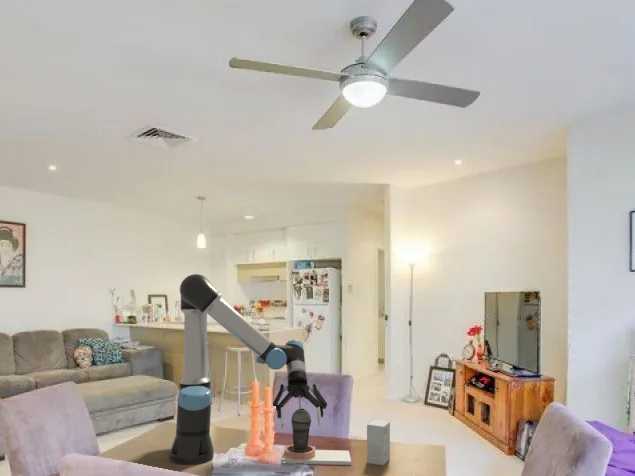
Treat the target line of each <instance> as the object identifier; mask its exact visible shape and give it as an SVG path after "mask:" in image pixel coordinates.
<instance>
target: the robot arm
mask: <svg viewBox="0 0 635 476" xmlns="http://www.w3.org/2000/svg"><path fill="white" fill-rule="evenodd" d="M179 294H180V311H181V312H182V313H183V315H184V317H183V318H184V325H183V326H184V328H183V331H184V333H183V334H184V335H183V337H184V338H183V377H182V378H181V379H180V381H179V384H178V385H179V392H178V396H177V410H176V411H177V412H176V426H175V437H174V440H173V441H172V442H173V443H172V445H171V448H170V450H169V457H168V458H169V461H170V462H172V463H174V464H178V465H198V464H202V463H206V462H209V461H211V460H212V459H213V458H214V446H213V441H212V438H211V435H210V433H211V432H210V431H211V413H212V412H211V411H212V400H213V397H212V395H213V394H212V391H211V379H210V378H209V377H208V376H207V374H208V373H207V369H208V368H207V366H208V365H207V362H208V361H207V359H208V358H207V357H208V356H207V355H208V351H207V350H208V348H207V347H208V316H210V318H212V319H213V320H215V321H216V323H218V324H219V325H220V326H221V327H222V328H224V329H225V330H226V331H227V332H228V333H229V334H231V335H232V336H233V337H234V338H235V339H236V340H238V341H239V342H240V343H241V344H242V345H244V347H246V348H247V349H249V351H250V352H251V353H253V354H254V355H255V362H256V363H257V364H262V365H264V364H265V365H266V366H268V368H270V369H271V370H275V371H276V370H280V369H283V367H284V366H285V365H286V376H287V377H286V378H287V385H284V384H282V383H280V387H279V391H278V393H277V395H276V396H275V398H274V400H273V402H272V404H273V406H276V409H275V410H276V414H277V419H280V428H281V429H283V428H284V427H285V426H284V425H285V418H284V407H285V406H286V404H287V403H288V401H290V400H291V399H292V398H295V399H297V398H298V399H299V396H300V399H302V398H304V399H305V400H307V401H308V402H310V403H311V404H312V405H313V406H314V407H315V408H316V415H317V423H318V424H317V425H318V428H321V427H322V424H323V422H322V418H324V410H325V409H327V407H328V402H327V401H326V399H325V398H324V396H323V395H322V394H321V392H320V391H319V389H318V387H317V384H315V383H313V384H312V385H309V384H308V375H307V367H306V360H305V357H306V356H305V349H304V345H303V343H302V341H300V340H299V339H298V340H297V339H292V340H288V341H286V343H285V345H283V344H282V345H280V344H276V343H274V342H273V341H271V340H270V339H269V338H268V337H267V336H266V335H265V334H264V333H263V332H261V331H260V330H259V329H258V328H257V327H255V326H254V325H253V324H252V323H251V322H250V321H248V319H247V318H245V317H244V316H243V315H242V314H240V313H239V312H238V311H237V310H236V309H235V308H234V307H232V306H231V305H230V304H229V303H228V302H227V301H226V300H225V299H224V298H222V293H221V292H220V291H218V290H217V289H216V288H215V287H214V285H213V284H212V283H211V282H210V280H209V279H208V278H207V277H206V276H204V275H202V274H197V273H193V274H189V275H188V276H186V277H185V278H183V280H182V281H181V283H180V285H179ZM286 391H287V394H286V395H285V396H284V398H282V396H283V393H285V392H286ZM310 391H311V392H310ZM311 393H312V394H311ZM281 398H282V400H281ZM280 400H281V401H280Z"/></svg>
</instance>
